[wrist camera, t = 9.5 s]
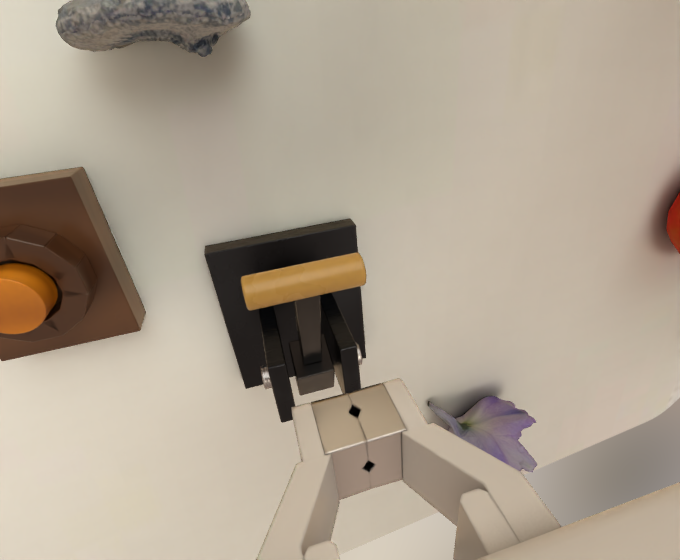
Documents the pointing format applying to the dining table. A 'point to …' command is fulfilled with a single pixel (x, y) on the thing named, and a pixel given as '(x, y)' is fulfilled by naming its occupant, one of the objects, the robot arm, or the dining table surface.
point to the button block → (66, 261)
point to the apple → (674, 223)
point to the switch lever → (306, 309)
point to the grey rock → (149, 22)
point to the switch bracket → (287, 307)
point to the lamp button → (24, 297)
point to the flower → (493, 430)
